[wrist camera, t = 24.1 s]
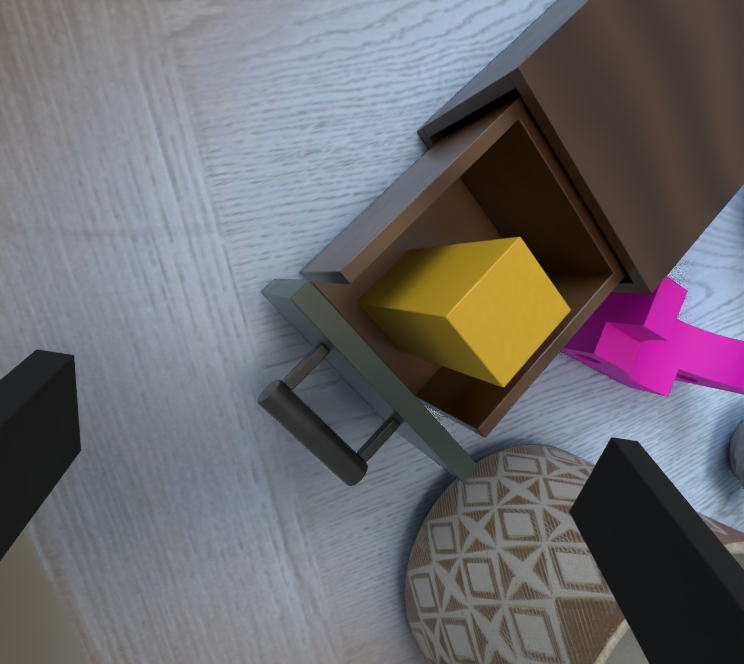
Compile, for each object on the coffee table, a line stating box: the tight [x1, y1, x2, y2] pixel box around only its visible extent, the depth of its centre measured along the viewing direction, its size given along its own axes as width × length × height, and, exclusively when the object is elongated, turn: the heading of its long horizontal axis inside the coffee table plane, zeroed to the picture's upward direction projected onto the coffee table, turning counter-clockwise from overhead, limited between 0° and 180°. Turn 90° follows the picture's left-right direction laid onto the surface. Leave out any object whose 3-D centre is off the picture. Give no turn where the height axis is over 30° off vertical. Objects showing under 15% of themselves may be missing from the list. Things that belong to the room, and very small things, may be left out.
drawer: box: [257, 97, 627, 486], centre depth 28 cm, size 20×13×9 cm
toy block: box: [561, 276, 744, 397], centre depth 38 cm, size 15×6×8 cm, turn 65°
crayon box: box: [358, 237, 570, 387], centre depth 26 cm, size 4×5×11 cm
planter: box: [405, 445, 744, 664], centre depth 31 cm, size 19×19×16 cm
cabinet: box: [417, 0, 744, 294], centre depth 31 cm, size 17×15×11 cm
